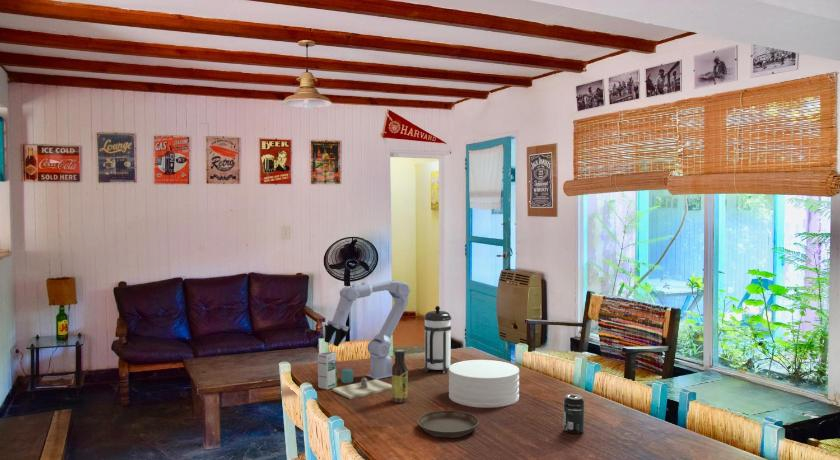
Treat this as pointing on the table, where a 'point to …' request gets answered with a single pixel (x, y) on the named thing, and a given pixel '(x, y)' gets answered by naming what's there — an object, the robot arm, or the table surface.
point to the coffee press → (437, 340)
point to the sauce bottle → (399, 378)
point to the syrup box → (327, 370)
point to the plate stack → (484, 383)
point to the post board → (363, 388)
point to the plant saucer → (448, 423)
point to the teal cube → (347, 375)
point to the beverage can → (573, 413)
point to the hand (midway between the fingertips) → (331, 344)
